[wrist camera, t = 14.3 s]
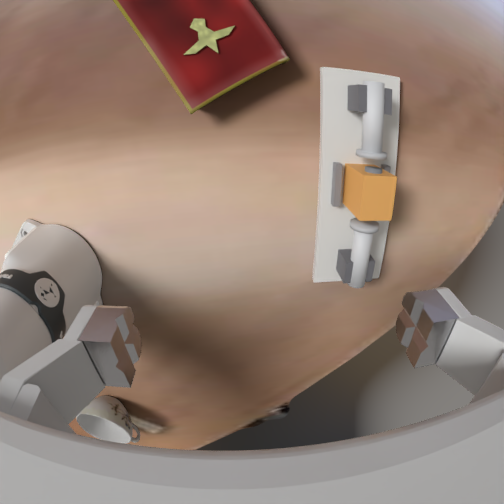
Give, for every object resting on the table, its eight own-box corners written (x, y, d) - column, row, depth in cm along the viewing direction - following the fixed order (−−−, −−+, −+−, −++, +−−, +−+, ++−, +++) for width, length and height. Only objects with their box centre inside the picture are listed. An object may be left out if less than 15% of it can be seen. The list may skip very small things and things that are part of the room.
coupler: (370, 205, 37) (390, 223, 31) (342, 205, 37) (358, 224, 31) (375, 161, 34) (397, 173, 29) (345, 160, 34) (363, 171, 29)
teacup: (78, 396, 56) (68, 422, 49) (99, 378, 52) (88, 408, 45) (130, 426, 61) (124, 453, 54) (157, 412, 58) (152, 442, 51)
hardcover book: (196, -57, 21) (192, -72, 17) (286, 62, 30) (292, 57, 26) (113, -8, 23) (100, -18, 20) (196, 112, 32) (190, 114, 29)
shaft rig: (376, 274, 43) (391, 296, 38) (312, 278, 43) (321, 303, 38) (396, 77, 30) (420, 76, 25) (320, 67, 30) (334, 62, 25)
